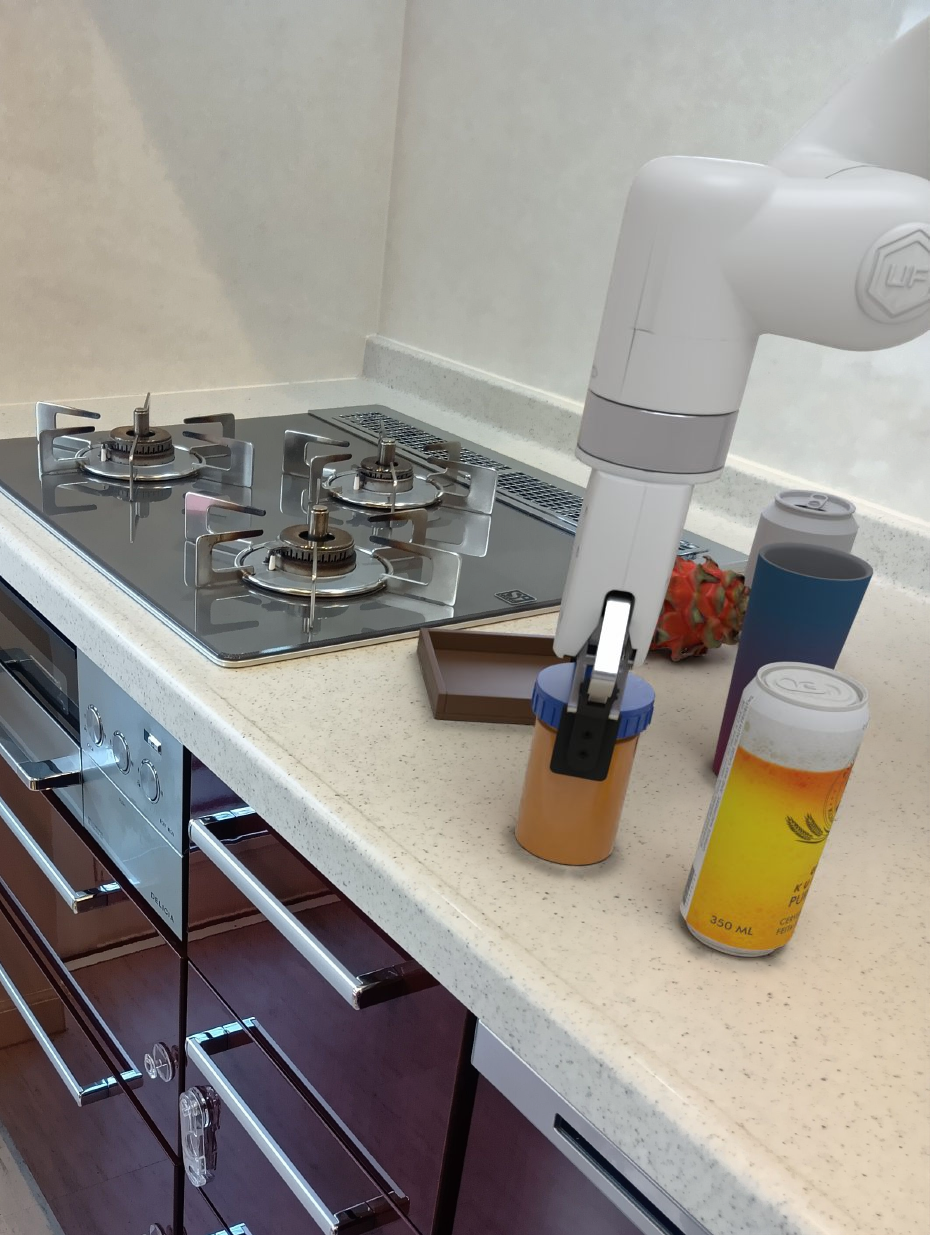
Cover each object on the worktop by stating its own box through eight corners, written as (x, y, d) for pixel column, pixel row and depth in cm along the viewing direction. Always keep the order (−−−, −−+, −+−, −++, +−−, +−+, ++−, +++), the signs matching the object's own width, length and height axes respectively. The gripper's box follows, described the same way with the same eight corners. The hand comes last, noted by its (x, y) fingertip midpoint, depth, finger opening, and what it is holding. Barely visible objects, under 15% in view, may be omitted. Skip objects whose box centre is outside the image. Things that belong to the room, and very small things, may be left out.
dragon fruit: (749, 678, 107) (601, 689, 107) (732, 589, 110) (588, 600, 110) (781, 622, 99) (621, 634, 100) (761, 528, 102) (606, 540, 102)
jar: (601, 816, 82) (631, 679, 77) (623, 867, 78) (658, 724, 72) (507, 812, 82) (531, 675, 77) (523, 863, 77) (551, 720, 72)
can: (715, 640, 109) (755, 497, 103) (743, 616, 114) (782, 478, 108) (805, 666, 106) (852, 520, 99) (829, 639, 111) (875, 499, 104)
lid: (506, 700, 76) (511, 673, 75) (594, 680, 79) (600, 654, 78) (584, 749, 71) (590, 721, 70) (675, 726, 74) (681, 699, 73)
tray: (593, 661, 104) (598, 638, 103) (630, 730, 94) (637, 705, 92) (416, 651, 103) (419, 627, 102) (434, 719, 93) (438, 693, 92)
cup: (708, 741, 93) (767, 535, 84) (807, 766, 90) (878, 556, 82) (690, 780, 88) (751, 564, 79) (794, 808, 85) (869, 588, 77)
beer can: (797, 970, 70) (890, 717, 62) (681, 953, 71) (758, 700, 62) (779, 908, 75) (863, 667, 67) (672, 893, 76) (741, 651, 67)
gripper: (588, 390, 74) (529, 679, 84) (569, 467, 60) (501, 803, 70) (723, 408, 73) (647, 699, 83) (736, 491, 59) (643, 830, 69)
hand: (581, 744), depth 76 cm, fingers closed on lid, 6 cm apart
